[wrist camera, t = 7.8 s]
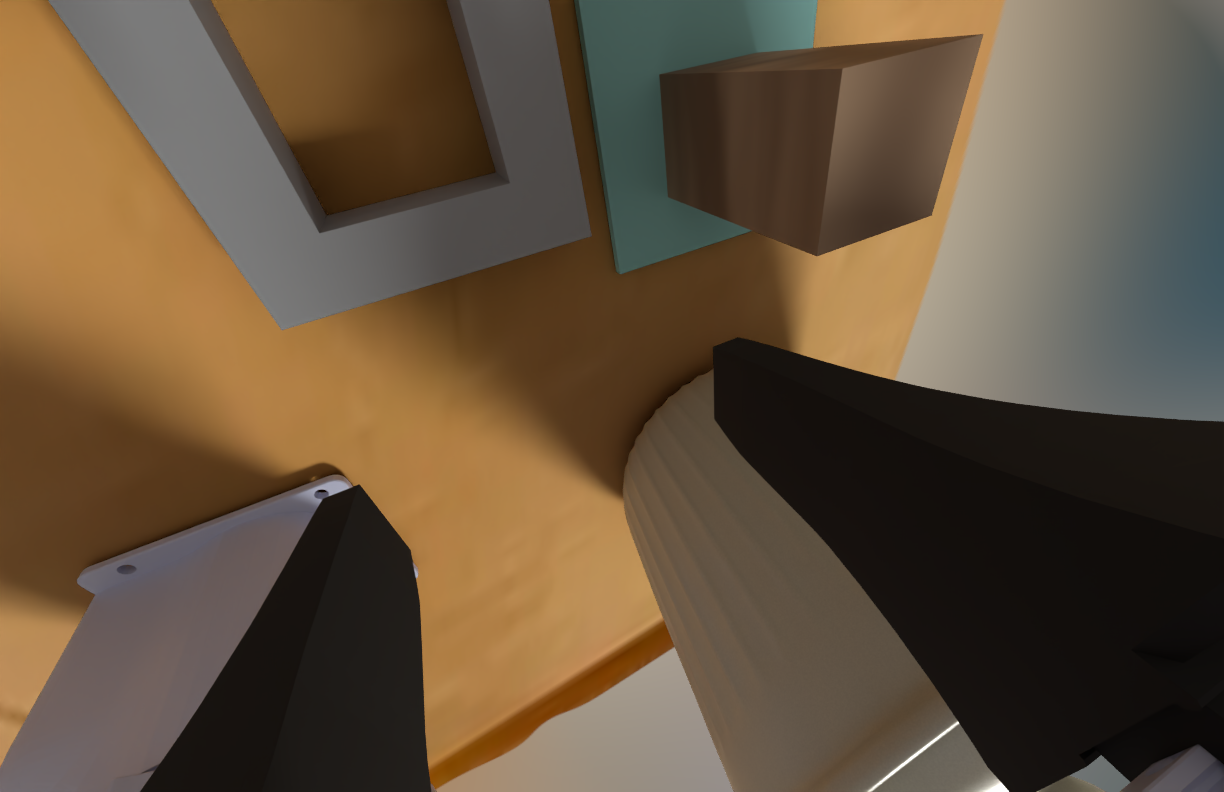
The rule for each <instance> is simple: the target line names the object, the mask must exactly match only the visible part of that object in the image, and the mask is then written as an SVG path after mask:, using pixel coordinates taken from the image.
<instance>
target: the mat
mask: <svg viewBox="0 0 1224 792" xmlns="http://www.w3.org/2000/svg"><path fill="white" fill-rule="evenodd" d="M574 3H575V9H576V16H577V22H578V29H579V35H580V41H581V48H582V54H583V61H584V67H585V74H586V80H587V87H588V93H589V99H590V106H591V112H592V119H593V125H594V132H595V138H596V144H597V151H598V157H599V164H600V170H601V177H602V183H603V189H604V196H605V202H606V209H607V215H608V222H609V228H610V234H611V241H612V247H613V254H614V260H615V267H616V272H618V273H619V274H623V273H626V272H629V271H632V270H635V269H638V268H641V267H644V266H647V265H650V264H653V263H656V262H659V261H662V260H665V259H668V258H672V257H675V256H678V255H681V254H684V253H687V252H690V251H693V250H696V249H699V248H702V247H705V246H708V245H711V244H714V243H717V242H720V241H723V240H726V239H729V238H732V237H735V236H738V235H741V234H744V233H747V232H751V231H752V230H749V229H747V228H744V227H742V226H739V225H737V224H734V223H732V222H729V221H727V220H724V219H722V218H719V217H717V216H714V215H711V214H709V213H706V212H704V211H701V210H699V209H696V208H694V207H691V206H689V205H686V204H684V203H681V202H679V201H676V200H674V199H671V198H669V197H668V191H667V177H666V163H665V149H664V134H663V120H662V106H661V92H660V78H659V74H663V73H668V72H672V71H677V70H681V69H686V68H690V67H695V66H699V65H704V64H708V63H713V62H717V61H722V60H726V59H731V58H735V57H740V56H744V55H749V54H753V53H758V52H770V51H783V50H795V49H807V48H813V40H814V30H815V20H816V10H817V0H574Z"/></svg>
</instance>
